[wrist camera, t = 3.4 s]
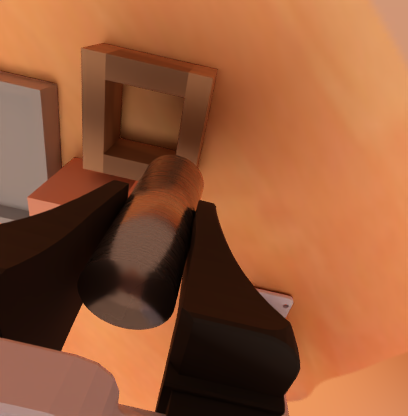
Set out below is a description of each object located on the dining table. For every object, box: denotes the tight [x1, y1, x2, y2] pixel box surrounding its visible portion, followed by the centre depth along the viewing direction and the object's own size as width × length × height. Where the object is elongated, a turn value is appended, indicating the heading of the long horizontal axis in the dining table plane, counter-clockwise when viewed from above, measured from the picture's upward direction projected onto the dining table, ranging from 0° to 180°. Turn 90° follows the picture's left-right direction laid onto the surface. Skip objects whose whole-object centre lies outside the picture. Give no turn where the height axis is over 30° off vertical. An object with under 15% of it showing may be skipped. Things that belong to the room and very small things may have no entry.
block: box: [27, 157, 138, 216], centre depth 22 cm, size 5×5×6 cm
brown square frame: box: [81, 43, 218, 181], centre depth 20 cm, size 7×7×3 cm
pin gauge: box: [77, 155, 204, 330], centre depth 12 cm, size 3×3×7 cm
